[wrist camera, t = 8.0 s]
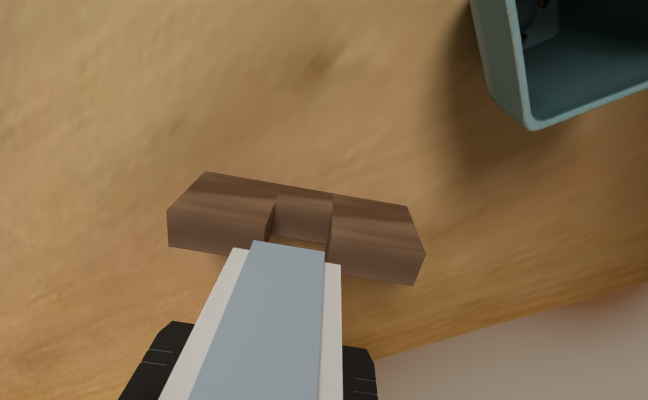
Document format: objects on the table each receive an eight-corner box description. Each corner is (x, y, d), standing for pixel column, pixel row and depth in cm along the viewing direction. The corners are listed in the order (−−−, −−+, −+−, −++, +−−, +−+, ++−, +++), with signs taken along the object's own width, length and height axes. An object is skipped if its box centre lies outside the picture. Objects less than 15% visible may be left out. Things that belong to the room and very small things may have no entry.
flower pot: (592, 51, 22) (734, 59, 14) (465, 103, 24) (527, 136, 16) (581, -99, 19) (761, -200, 11) (434, -24, 21) (494, -62, 13)
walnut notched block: (205, 171, 28) (166, 210, 21) (406, 206, 28) (425, 254, 22) (205, 201, 29) (168, 246, 23) (397, 234, 30) (413, 286, 24)
